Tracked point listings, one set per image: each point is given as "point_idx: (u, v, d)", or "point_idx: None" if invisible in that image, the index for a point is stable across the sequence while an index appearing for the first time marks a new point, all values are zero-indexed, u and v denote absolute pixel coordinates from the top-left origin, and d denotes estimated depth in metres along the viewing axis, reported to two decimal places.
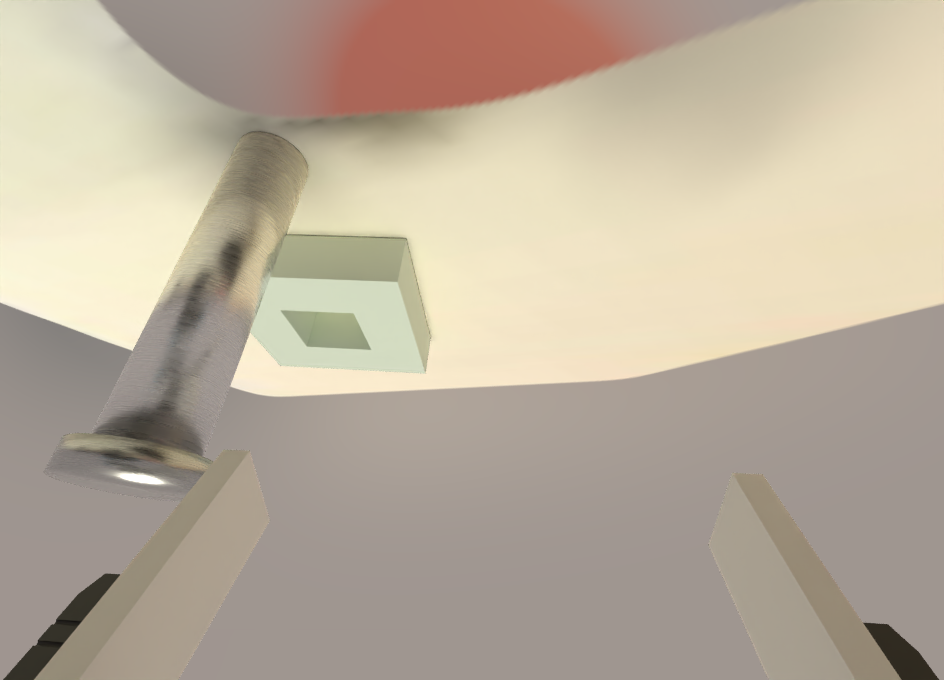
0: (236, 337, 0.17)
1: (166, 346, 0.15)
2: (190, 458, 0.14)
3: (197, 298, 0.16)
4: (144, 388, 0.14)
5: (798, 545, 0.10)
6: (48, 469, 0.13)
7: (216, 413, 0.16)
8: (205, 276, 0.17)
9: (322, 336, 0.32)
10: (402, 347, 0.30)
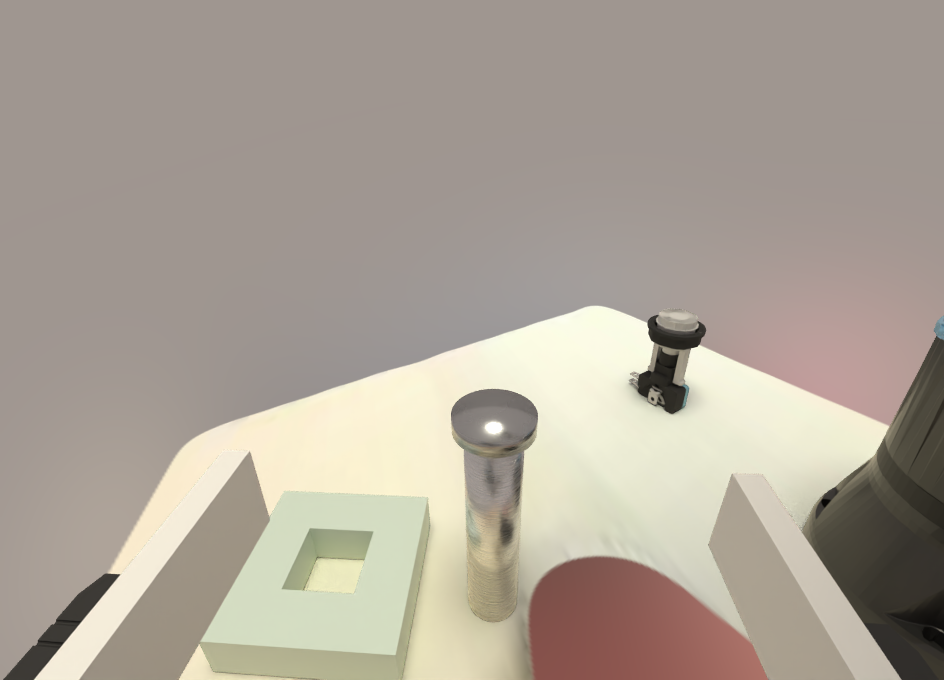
0: (495, 513, 0.25)
1: (522, 480, 0.25)
2: (509, 453, 0.22)
3: (519, 509, 0.26)
4: (523, 458, 0.24)
5: (798, 545, 0.10)
6: (530, 401, 0.24)
7: (484, 474, 0.23)
8: (519, 520, 0.26)
9: (307, 547, 0.32)
10: (273, 627, 0.26)
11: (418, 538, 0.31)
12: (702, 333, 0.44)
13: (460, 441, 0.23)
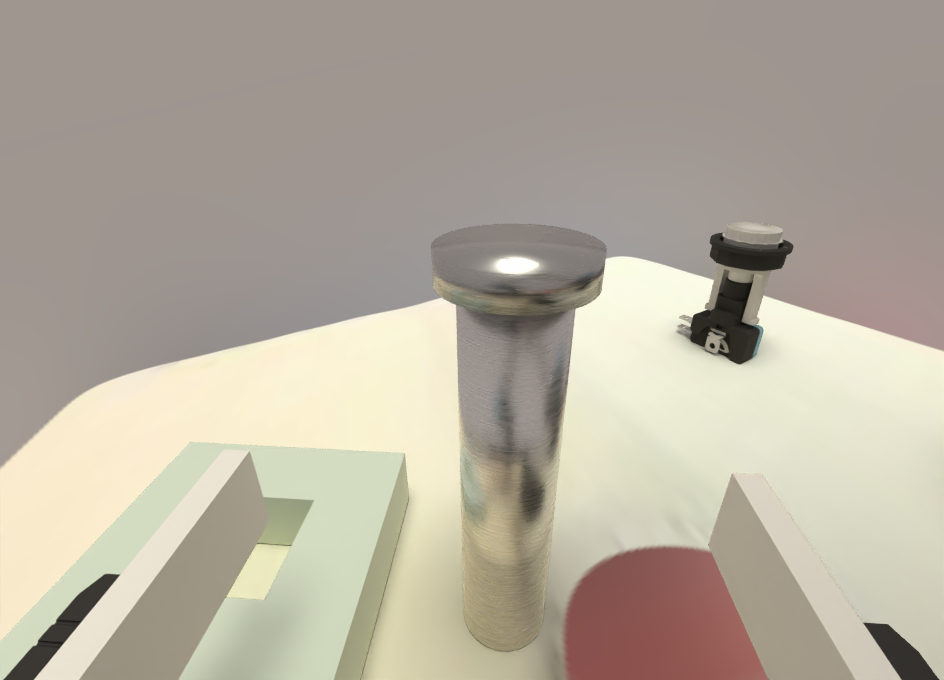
0: (516, 451, 0.13)
1: (566, 391, 0.13)
2: (551, 306, 0.10)
3: (559, 450, 0.14)
4: (571, 344, 0.13)
5: (798, 545, 0.10)
6: (585, 234, 0.13)
7: (496, 364, 0.12)
8: (557, 473, 0.14)
9: None
10: None
11: (384, 511, 0.19)
12: (790, 248, 0.32)
13: (447, 288, 0.11)
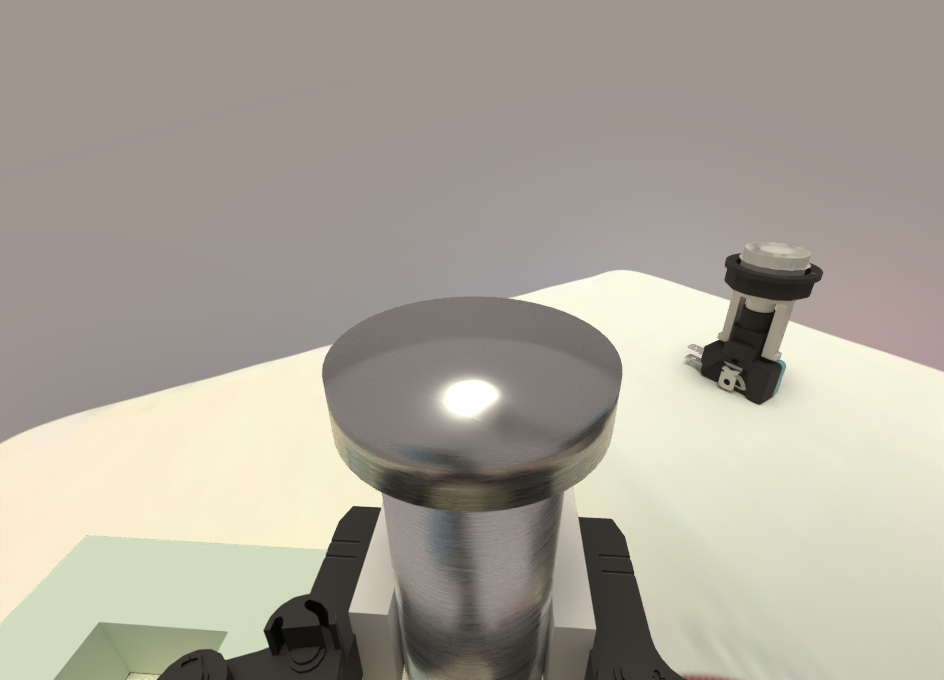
0: (476, 665, 0.08)
1: None
2: (524, 495, 0.06)
3: (545, 636, 0.09)
4: (563, 498, 0.08)
5: None
6: (585, 322, 0.08)
7: (437, 555, 0.07)
8: (544, 660, 0.10)
9: (87, 664, 0.15)
10: None
11: None
12: (820, 274, 0.28)
13: (342, 445, 0.06)
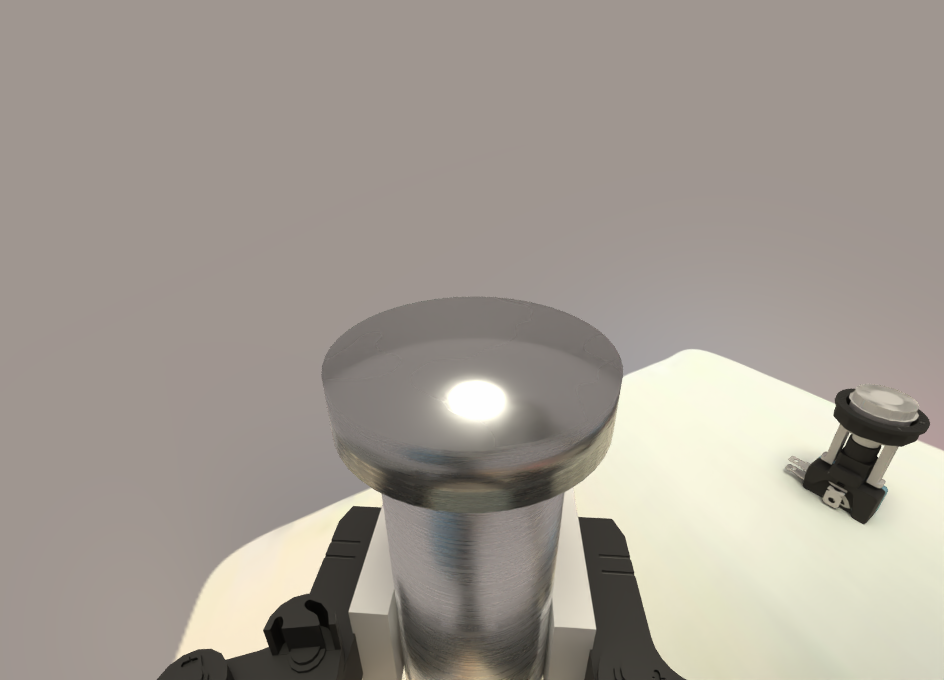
0: (476, 665, 0.08)
1: None
2: (524, 496, 0.06)
3: (546, 636, 0.09)
4: (563, 499, 0.08)
5: None
6: (585, 323, 0.08)
7: (437, 556, 0.07)
8: (543, 661, 0.10)
9: None
10: None
11: None
12: (928, 424, 0.32)
13: (342, 445, 0.06)
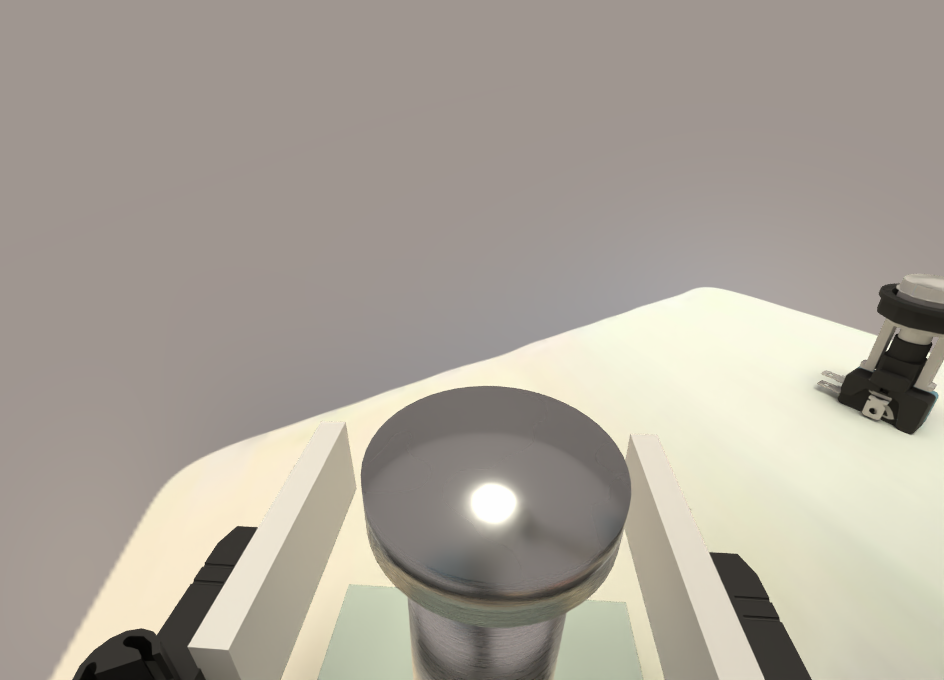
0: None
1: (561, 634, 0.09)
2: (544, 614, 0.06)
3: None
4: None
5: (671, 490, 0.11)
6: (595, 424, 0.09)
7: (459, 644, 0.08)
8: None
9: None
10: None
11: None
12: None
13: (380, 555, 0.07)
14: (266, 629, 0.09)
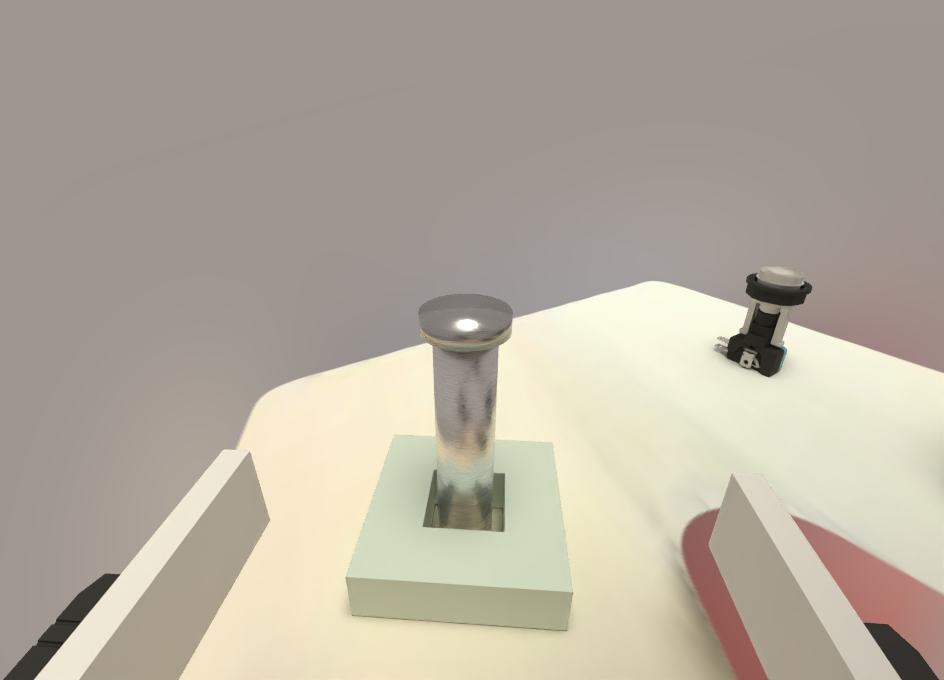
0: (466, 424, 0.23)
1: (495, 391, 0.23)
2: (479, 347, 0.20)
3: (493, 425, 0.24)
4: (497, 364, 0.23)
5: (798, 545, 0.10)
6: (505, 303, 0.23)
7: (454, 376, 0.22)
8: (493, 439, 0.24)
9: (432, 489, 0.29)
10: (426, 563, 0.23)
11: (556, 480, 0.29)
12: (810, 289, 0.42)
13: (427, 336, 0.21)
14: None
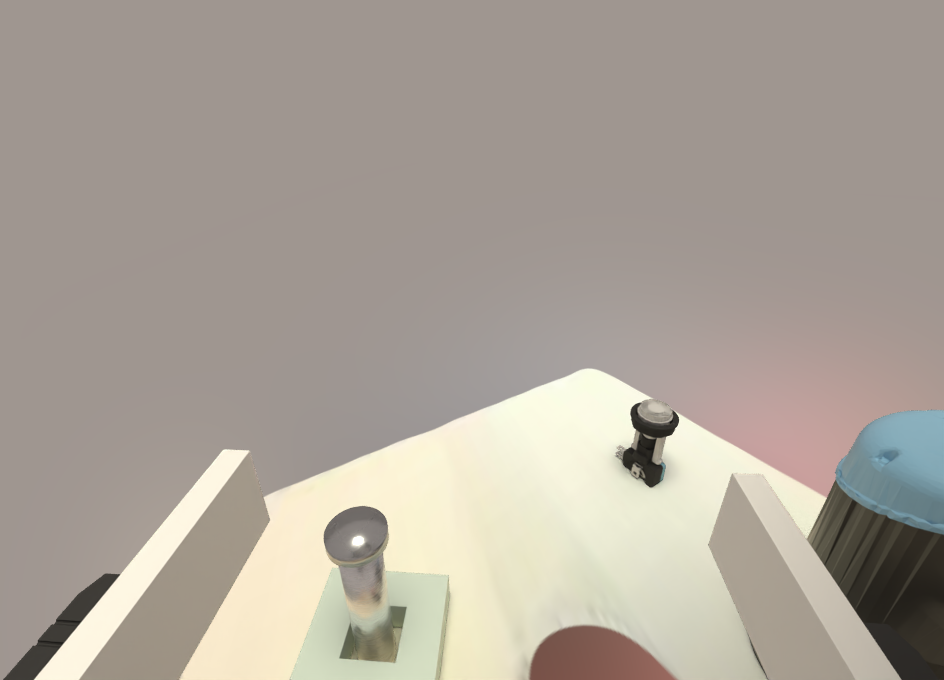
0: (360, 600, 0.34)
1: (382, 575, 0.34)
2: (359, 564, 0.31)
3: (382, 595, 0.35)
4: (380, 560, 0.34)
5: (798, 545, 0.10)
6: (385, 519, 0.34)
7: (348, 574, 0.33)
8: (384, 602, 0.35)
9: None
10: None
11: (442, 613, 0.39)
12: (675, 424, 0.53)
13: (327, 553, 0.32)
14: None
